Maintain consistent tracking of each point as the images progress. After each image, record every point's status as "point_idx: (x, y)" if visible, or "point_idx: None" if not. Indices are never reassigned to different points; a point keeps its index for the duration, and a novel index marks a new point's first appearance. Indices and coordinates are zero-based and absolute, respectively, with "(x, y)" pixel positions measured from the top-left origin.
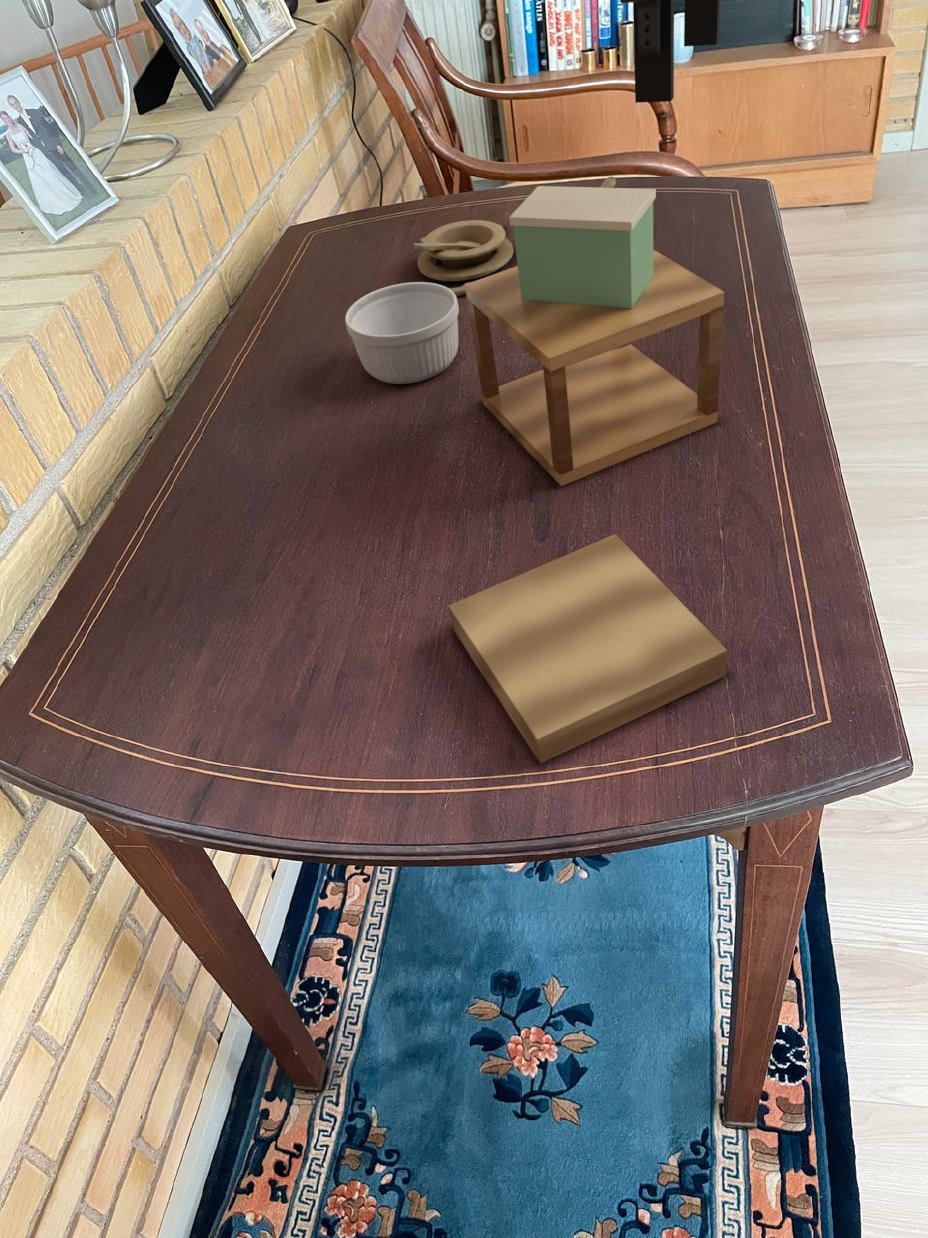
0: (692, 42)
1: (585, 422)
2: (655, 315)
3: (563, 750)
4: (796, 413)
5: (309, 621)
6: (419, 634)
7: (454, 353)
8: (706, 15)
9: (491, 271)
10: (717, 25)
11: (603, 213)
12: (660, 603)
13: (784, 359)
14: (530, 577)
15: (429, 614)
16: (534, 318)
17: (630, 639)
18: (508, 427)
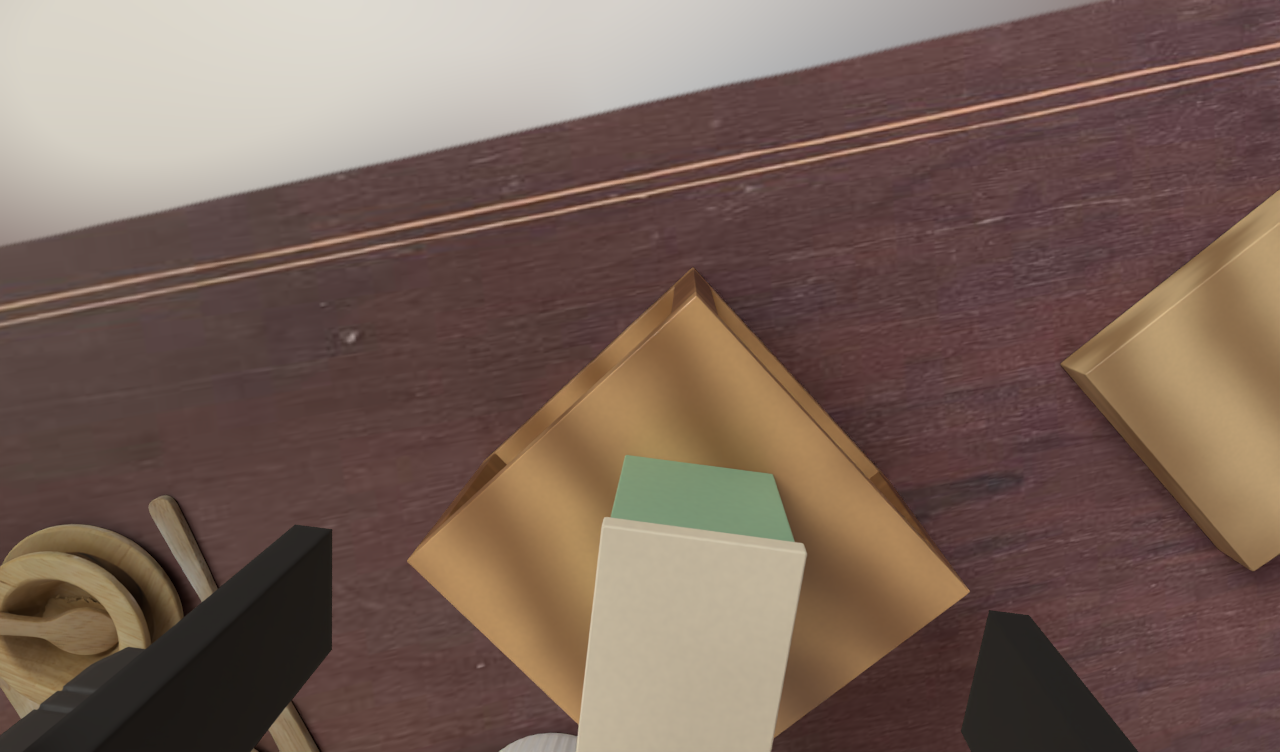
0: (328, 625)
1: None
2: (800, 421)
3: None
4: (652, 136)
5: (1205, 735)
6: (1226, 590)
7: (559, 737)
8: (274, 628)
9: (253, 749)
10: (289, 559)
11: (749, 627)
12: (1245, 280)
13: (481, 175)
14: (1190, 475)
15: (1186, 588)
16: (813, 652)
17: None
18: None
